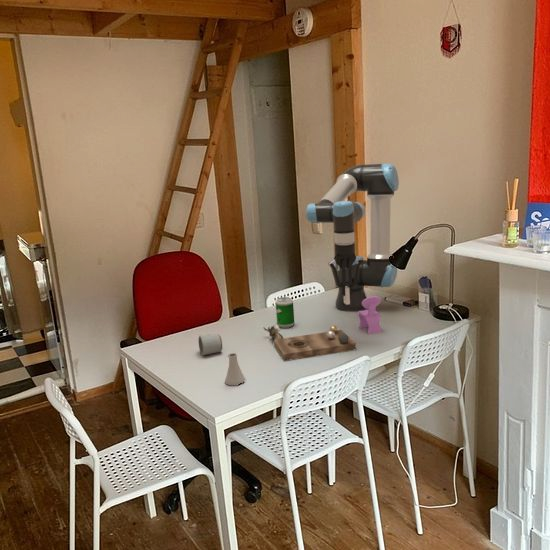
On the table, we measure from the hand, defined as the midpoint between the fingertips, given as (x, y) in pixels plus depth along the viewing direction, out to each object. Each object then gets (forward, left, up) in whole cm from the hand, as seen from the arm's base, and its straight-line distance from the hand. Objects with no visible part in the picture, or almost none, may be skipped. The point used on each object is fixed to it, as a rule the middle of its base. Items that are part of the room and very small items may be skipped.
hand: (346, 303), depth 221 cm
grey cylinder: (+53, -12, -16) cm, 57 cm away
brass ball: (+4, -6, -12) cm, 14 cm away
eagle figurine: (+26, -14, -16) cm, 34 cm away
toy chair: (-13, -10, -16) cm, 23 cm away
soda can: (+18, -29, -16) cm, 38 cm away
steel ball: (+7, 0, -12) cm, 14 cm away
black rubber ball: (+4, +6, -12) cm, 14 cm away
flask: (+48, +19, -16) cm, 54 cm away
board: (+14, 0, -16) cm, 21 cm away
